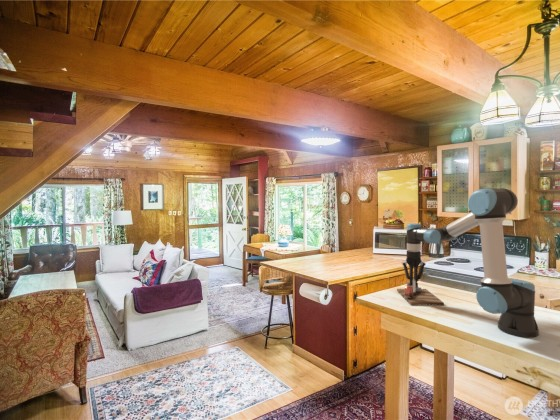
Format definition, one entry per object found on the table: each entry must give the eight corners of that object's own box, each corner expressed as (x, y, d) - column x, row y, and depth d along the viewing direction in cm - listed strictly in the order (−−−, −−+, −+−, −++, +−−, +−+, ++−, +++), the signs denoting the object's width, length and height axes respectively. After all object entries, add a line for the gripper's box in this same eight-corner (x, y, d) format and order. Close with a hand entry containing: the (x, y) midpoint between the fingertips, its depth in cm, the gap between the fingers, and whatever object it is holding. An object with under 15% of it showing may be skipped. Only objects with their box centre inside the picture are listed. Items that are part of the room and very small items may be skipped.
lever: (412, 299, 187) (412, 288, 187) (402, 297, 191) (402, 286, 190) (422, 291, 203) (422, 280, 202) (413, 289, 206) (413, 279, 206)
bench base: (443, 305, 183) (444, 288, 182) (410, 305, 184) (410, 288, 183) (425, 291, 209) (426, 276, 208) (396, 291, 210) (397, 276, 209)
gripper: (422, 249, 192) (422, 289, 193) (400, 249, 193) (399, 289, 194) (427, 251, 185) (427, 293, 186) (404, 251, 185) (403, 293, 187)
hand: (413, 291), depth 190 cm, fingers closed
